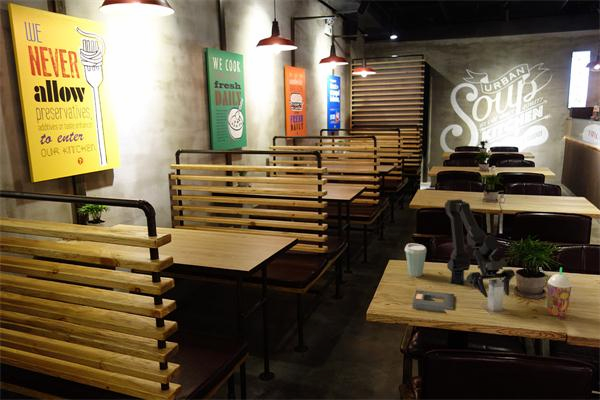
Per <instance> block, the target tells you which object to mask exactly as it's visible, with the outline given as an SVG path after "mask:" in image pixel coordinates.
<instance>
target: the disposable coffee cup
mask: <svg viewBox="0 0 600 400" xmlns="http://www.w3.org/2000/svg"><path fill="white" fill-rule="evenodd" d="M404 252H405V257H406V263H407V271H408V275H409V276H411V277H414V278H417V277H421V276H422V275H423V272H424V266H425V261H426V256H427V247H426V246H424V245H423V244H419V243H415V242H414V243H412V242H411V243H407V244H406V245H405V247H404Z"/></svg>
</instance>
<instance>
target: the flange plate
mask: <svg viewBox="0 0 600 400" xmlns="http://www.w3.org/2000/svg"><path fill="white" fill-rule="evenodd" d="M435 299H439V300H440V299H441V300H443V302H442V301H435ZM454 299H455V294H454V293H448V292H440V291H439V292H438V291H427V290H420V289H416V290H415V294H414V297H413V301H412V309H414V310H423V311H430V312H431V311H432V312H439V313H447V311H446V310H448V311H449V310H451V311H453V310H454Z"/></svg>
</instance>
